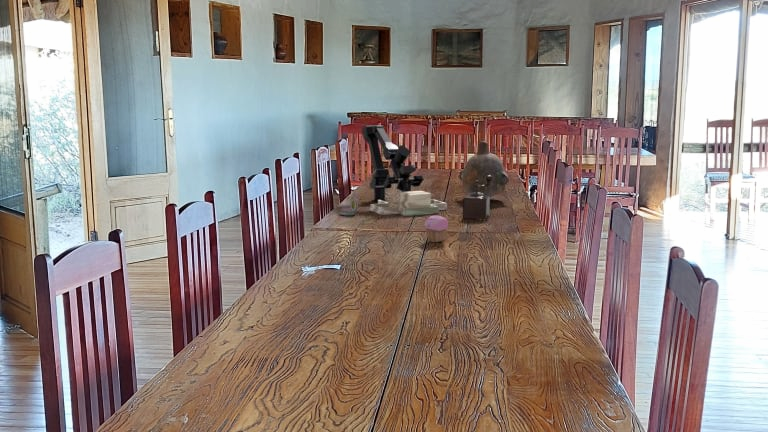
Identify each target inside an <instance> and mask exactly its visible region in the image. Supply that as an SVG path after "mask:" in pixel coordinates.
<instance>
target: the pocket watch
mask: <svg viewBox="0 0 768 432" xmlns="http://www.w3.org/2000/svg"><path fill="white" fill-rule="evenodd" d="M355 196H357V193H356V192H355V191H354V192H353V193H352V197H351V198H350V202H349V205H350V210H351V211H350V210H348V211H344V210H343V211H340V212H339V215H340V216H345V217H347V216H353V215H355V213H357V212H358V210H359V202H358V199H357V197H355Z"/></svg>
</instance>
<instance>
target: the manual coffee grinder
mask: <svg viewBox="0 0 768 432" xmlns="http://www.w3.org/2000/svg"><path fill="white" fill-rule="evenodd" d="M493 179H494V178H493V177H492V176H490V175H488V176H486V177H485V180H486V184H485V185H479V184H478V180H476V181H475V182H476V183H475V185H476V191H475V192H474V193H471V194H467V195H465V196H464V197H463V198H462V201H463V202H462V219H464V218H471V219H470V220H478V219H486V218H487V219H489V218H488V217H490V207H491V204H490V203H491V200H490V199H491V197H490V196H487V195H484V194H483V193H481V192H478V187H486V186H488V187H489V186H492V184H491V183H492V181H493ZM484 193H485V192H484ZM487 219H486V220H487Z"/></svg>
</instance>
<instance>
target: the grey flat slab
mask: <svg viewBox="0 0 768 432" xmlns="http://www.w3.org/2000/svg"><path fill="white" fill-rule="evenodd" d="M369 208H370V209H369V211H371V212H373V213H377V214H378V215H382V216H384V215H385V216H386V215H397V214H399V215H401V216H405V217H408V216H420V215H422V216H423V215H432V214H439V212H440V211H445V210H446V211H447V209H448V203H447V202H444V201H440V200H437V199H431V207H422V208H410V209H406V208H403V207H400V205H399V206H391V207H390V202H387V201H382V200H378V201H377V203H370V205H369Z"/></svg>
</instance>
